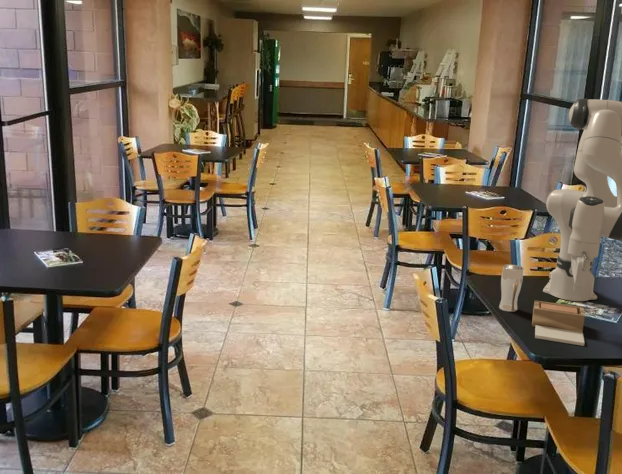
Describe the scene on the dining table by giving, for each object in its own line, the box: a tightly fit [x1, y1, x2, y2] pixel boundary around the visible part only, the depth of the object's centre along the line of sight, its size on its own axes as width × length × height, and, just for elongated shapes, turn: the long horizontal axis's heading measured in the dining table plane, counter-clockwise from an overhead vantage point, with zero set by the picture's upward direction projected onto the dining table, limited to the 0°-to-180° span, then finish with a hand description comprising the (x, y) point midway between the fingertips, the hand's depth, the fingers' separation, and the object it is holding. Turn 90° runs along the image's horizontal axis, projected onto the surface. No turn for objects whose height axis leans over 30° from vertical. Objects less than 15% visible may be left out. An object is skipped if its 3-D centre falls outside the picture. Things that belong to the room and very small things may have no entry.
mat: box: [534, 325, 585, 347], centre depth 202 cm, size 9×14×1 cm, turn 71°
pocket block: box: [531, 299, 586, 332], centre depth 211 cm, size 9×15×6 cm, turn 71°
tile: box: [540, 303, 578, 314], centre depth 210 cm, size 5×11×3 cm, turn 71°
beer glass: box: [498, 264, 524, 313], centre depth 223 cm, size 7×7×15 cm
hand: (576, 291), depth 206 cm, fingers closed
